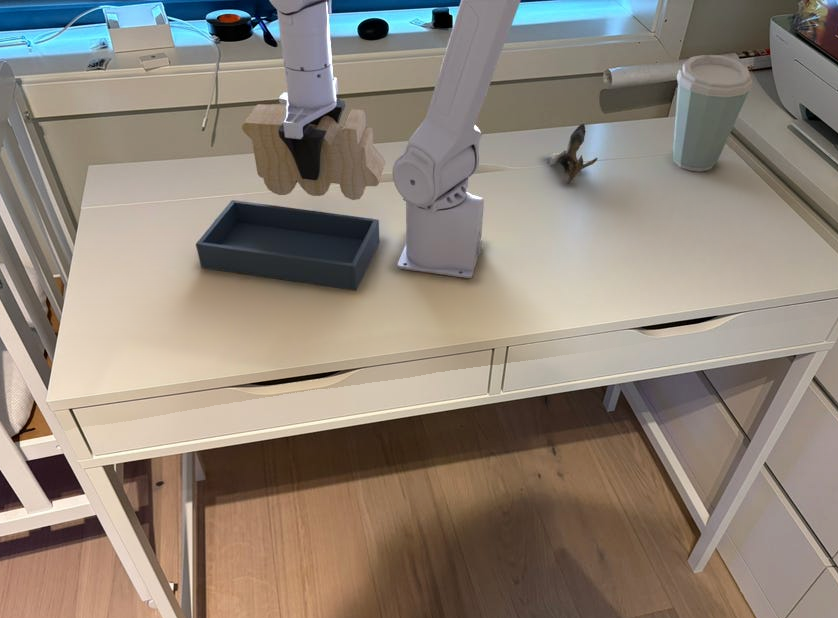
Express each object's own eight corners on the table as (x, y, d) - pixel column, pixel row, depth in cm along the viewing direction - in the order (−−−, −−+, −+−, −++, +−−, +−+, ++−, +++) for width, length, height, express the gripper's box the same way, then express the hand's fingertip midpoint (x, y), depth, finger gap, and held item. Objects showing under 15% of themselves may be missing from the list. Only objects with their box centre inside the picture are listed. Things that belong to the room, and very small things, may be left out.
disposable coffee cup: (737, 178, 111) (769, 80, 101) (669, 180, 110) (695, 81, 100) (711, 146, 119) (738, 52, 109) (647, 147, 118) (669, 53, 107)
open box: (379, 242, 95) (378, 219, 92) (356, 290, 87) (354, 266, 85) (236, 222, 97) (231, 199, 95) (201, 268, 89) (195, 243, 87)
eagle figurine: (607, 177, 107) (594, 139, 113) (590, 144, 102) (577, 106, 107) (560, 200, 110) (549, 162, 115) (541, 169, 105) (530, 130, 110)
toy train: (379, 202, 96) (376, 130, 89) (252, 193, 96) (240, 121, 90) (385, 181, 100) (383, 111, 93) (264, 172, 100) (253, 102, 94)
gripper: (296, 39, 93) (307, 139, 102) (252, 81, 82) (269, 189, 91) (349, 44, 92) (356, 145, 101) (312, 88, 81) (322, 196, 90)
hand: (318, 166), depth 96 cm, fingers closed on toy train, 6 cm apart
